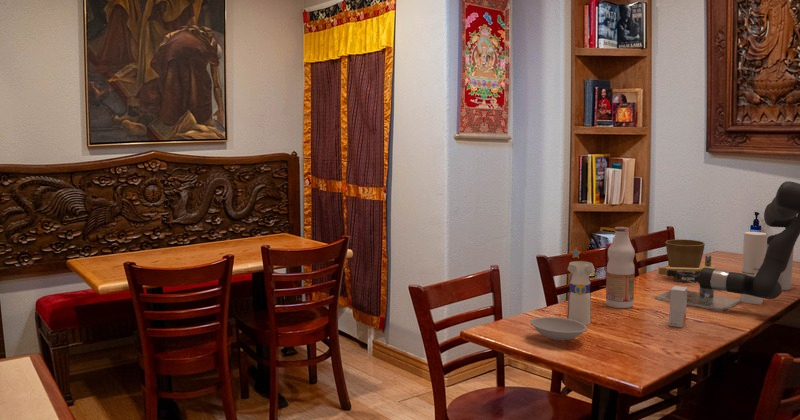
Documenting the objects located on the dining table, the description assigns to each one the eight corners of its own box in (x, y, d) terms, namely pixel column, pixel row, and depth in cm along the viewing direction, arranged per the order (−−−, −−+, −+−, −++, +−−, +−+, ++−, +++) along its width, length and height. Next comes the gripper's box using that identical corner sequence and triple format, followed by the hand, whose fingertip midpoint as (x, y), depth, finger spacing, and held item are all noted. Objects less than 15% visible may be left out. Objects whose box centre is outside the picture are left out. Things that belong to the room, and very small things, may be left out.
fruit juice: (610, 309, 239) (613, 229, 236) (602, 302, 249) (604, 225, 245) (637, 308, 240) (640, 229, 236) (627, 301, 249) (630, 225, 246)
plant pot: (674, 274, 293) (675, 237, 291) (709, 280, 282) (711, 242, 281) (657, 280, 283) (658, 242, 281) (693, 286, 272) (694, 246, 271)
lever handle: (712, 276, 254) (712, 265, 253) (716, 279, 249) (716, 267, 249) (657, 275, 257) (657, 263, 256) (660, 278, 252) (660, 266, 252)
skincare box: (682, 328, 216) (684, 290, 215) (668, 326, 219) (670, 289, 217) (686, 323, 222) (687, 287, 220) (672, 321, 224) (673, 285, 222)
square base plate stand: (675, 291, 264) (676, 250, 262) (740, 302, 247) (743, 258, 245) (654, 299, 252) (656, 256, 250) (722, 311, 235) (724, 265, 233)
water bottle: (594, 325, 219) (596, 249, 216) (566, 324, 221) (568, 248, 218) (592, 318, 227) (594, 244, 224) (565, 317, 229) (567, 243, 226)
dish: (519, 339, 206) (519, 323, 206) (547, 329, 216) (548, 314, 215) (569, 353, 193) (570, 335, 193) (597, 342, 203) (597, 325, 202)
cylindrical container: (765, 304, 244) (769, 235, 241) (743, 303, 246) (747, 234, 243) (759, 299, 251) (763, 232, 248) (738, 298, 253) (741, 231, 250)
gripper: (724, 266, 243) (676, 260, 255) (708, 272, 234) (659, 265, 246) (723, 287, 244) (675, 279, 256) (707, 293, 235) (659, 285, 247)
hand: (667, 272), depth 251 cm, fingers closed
